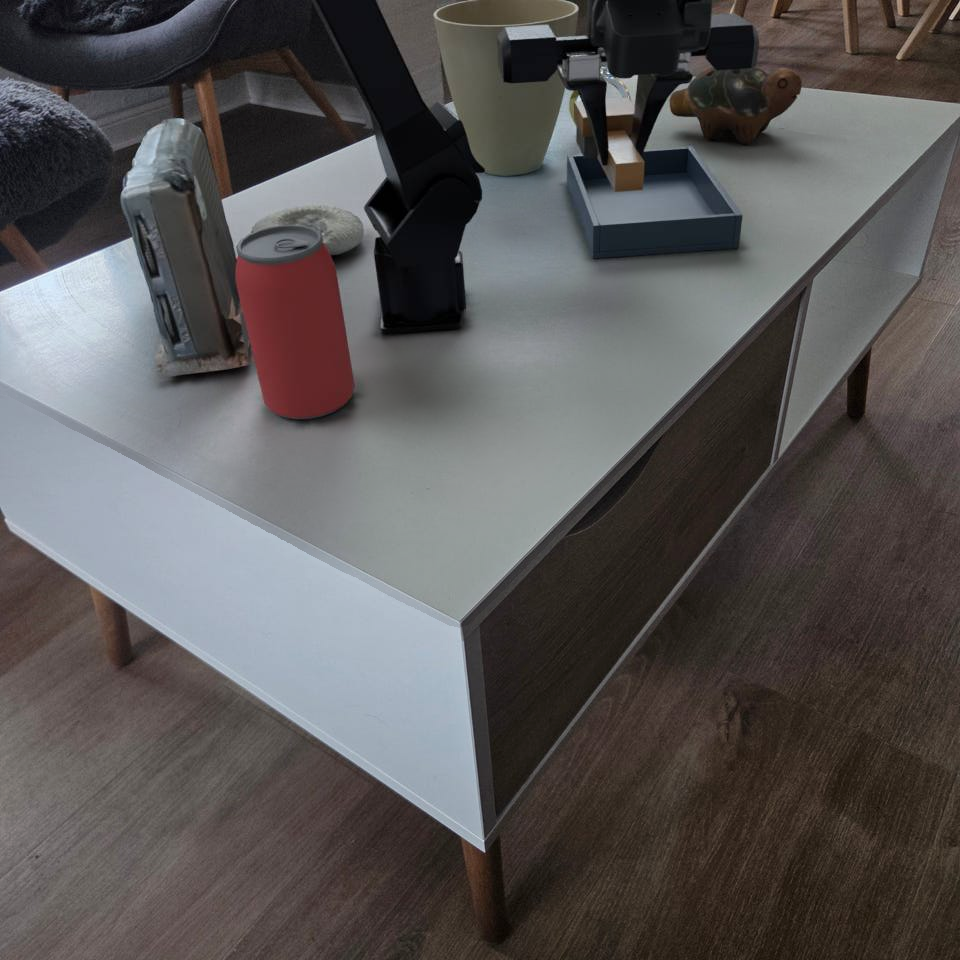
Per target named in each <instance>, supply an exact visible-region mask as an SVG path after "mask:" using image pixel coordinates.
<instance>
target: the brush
mask: <svg viewBox="0 0 960 960" xmlns="http://www.w3.org/2000/svg"><path fill="white" fill-rule="evenodd" d="M630 98H631V97H630ZM630 98H622V97H621V98H620V97H619V98H618V97H617V98H606V116H607V131H608V146H609V150H608V161H607V166H602V164H601V162H600V159H599V155H598V152H597V148H596V145H595V141H594V138H593V135H592V131H591V128H590V124H589V121H588V117H587V114H586V111H585V108H584V105H583V103H582V100H577V101H575V102H574V121H575V123H576V125H575V127H576V129H575V131H576V132H575V133H576V135H575V141H576V144H577V146H578V148H579V150H580V152H581V154H583V157H584V158H590V157H598V160H599V162H600V164H601V166H602V168H603V170H604V172H605V174H606V176H607V177H608V179H609V181H610V183H611V185H612V187H613V189H614V191H615V192H623V191H637V190H643V180H644V163H645V162H644V160H643V159H642V157H641V156H640V154H639V153H638V151H637V149H636V148H635V147H634V145H633V143H632V142H631V137H632V127H633V117H634V108H635V103H634V102H633V101H632V99H631V100H630Z"/></svg>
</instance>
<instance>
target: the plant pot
mask: <svg viewBox="0 0 960 960" xmlns="http://www.w3.org/2000/svg"><path fill="white" fill-rule="evenodd" d="M579 9H580V8H579V6H578V4H576V3H574V2H572V1H568V0H465V1H458V2H455V3H451V4H447V5H443V6H442V7H440V8H438V9H436V10H435V11H434V12H433V21H434V26H435V30H436V31H435V32H436V36H437V42H438V47H439V52H440V56H441V57H440V58H441V61H442V66H443V70H444V73H445V77H446V81H447V86H448V88H449V92H450V96H451V99H452V103H453V106H454V109H455V112H456V116H457V117H458V118H459V119H460V120H461V121H462V123H463V126H464V128H465V131H466V134H467V138H468V142H469V146H470V149H471V152H472V154H473V156H474V158H475V159H476V161H477V162H478V163H479V164H480V165H481V166H482V167H483V168H484V169H485V172H484V173H485V174H488V175H493V176H499V177H501V176H502V177H503V176H504V177H505V176H506V177H508V176H509V177H511V176H520V175H525V174H530V173H533V172H534V171H537V170H538V169H540V168H541V166H542V165H543V163H544V160H545V157H546V154H547V152H548V149H549V146H550V143H551V140H552V138H553V134H554V131H555V128H556V124H557V121H558V118H559V115H560V110H561V108H562V107H561V106H562V104H563V99H564V95H565V91H566V88H565V86H564V84H563V82H562V80H561V79H560V77H559V75H558V69H557V70H556V72H555V73H554V74H553V75H552V76H551V77H550V78H549V79H548V81H543V82H528V83H506V82H503V79H502V76H501V73H500V70H499V67H498V51H497V39H498V35H499V34H500V33H501V31H502V30H503V29H504V27H518V26H534V25H549V26H550V28H551V30H552V31H553V33H554V35H555V36H556V37H572V36H576V31H577V25H578V20H579V19H578V18H579ZM559 66H560V65H558V67H559Z"/></svg>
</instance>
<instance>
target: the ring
mask: <svg viewBox="0 0 960 960" xmlns="http://www.w3.org/2000/svg"><path fill="white" fill-rule="evenodd" d="M600 74H601V75H602V76H603V78H604V79H605V81H606V82H607V84H610V85H612V86H613V87H614V88H615V89H616V90H617V91H619V93H620V95H621V98H630V100H631V101H632V99H631V94H630V91H629V89H628V87H627V86H626V84H625V83H624V82H623V81H622V80H620V78H617V77H614V76H612V75H611V74H610V73H609V71H608V67H607V65H605V66H604V67H601V68H600ZM579 97H580V96H579V93H578V91H572V93H571V95H570V98H569V101H568V102H569V103H568V108H569V109H568V111H569V114H570V118H571V119H572V122H573V123H574V125H575V126H576V123H575V121H574V102H575V101H578V98H579Z"/></svg>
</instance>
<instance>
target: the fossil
mask: <svg viewBox="0 0 960 960" xmlns="http://www.w3.org/2000/svg"><path fill="white" fill-rule="evenodd" d="M280 225H302V226H307V227H311V228H314V229H316V230H317V231H318V232H320V233H321V234H322V237H323V243H324V244H325V246H326V248H327V249H328V251H329V253H330V255H331V256H338V255H341V254H343V253H347V252H348V251H350V250H352V249H354V248H355V247H357V246H358V245H359V244H360V243H361V242H363V241H362V240H363V239H364V233H365V230H364V224H363V221H362V220H361V218H360V217H359V216H358V215H356V214H355V213H353V212H352V211H349V210H347V209H343V208H340V207H337V206H330V205H320V204H319V205H318V204H316V205H314V204H313V205H312V204H308V205H301V206H293V207H288V208H285V209H281V210H277V211H276V212H273V213H271V214H268V215H266V216H264V217H263V218H261V219H260V220H258V221H256V223H254V225H253V227H252V228H251V230H250V232H249V234H251V233H253V232H255V231H257V230H261V229H265V228H268V227H274V226H280Z"/></svg>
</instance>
